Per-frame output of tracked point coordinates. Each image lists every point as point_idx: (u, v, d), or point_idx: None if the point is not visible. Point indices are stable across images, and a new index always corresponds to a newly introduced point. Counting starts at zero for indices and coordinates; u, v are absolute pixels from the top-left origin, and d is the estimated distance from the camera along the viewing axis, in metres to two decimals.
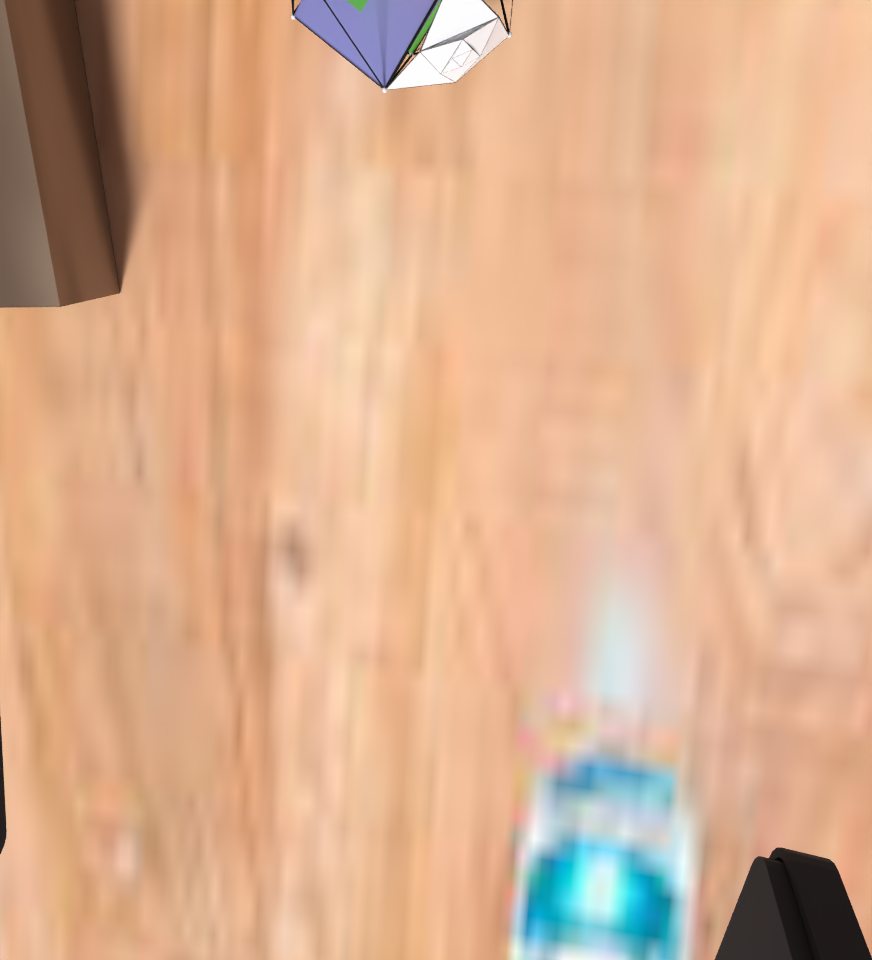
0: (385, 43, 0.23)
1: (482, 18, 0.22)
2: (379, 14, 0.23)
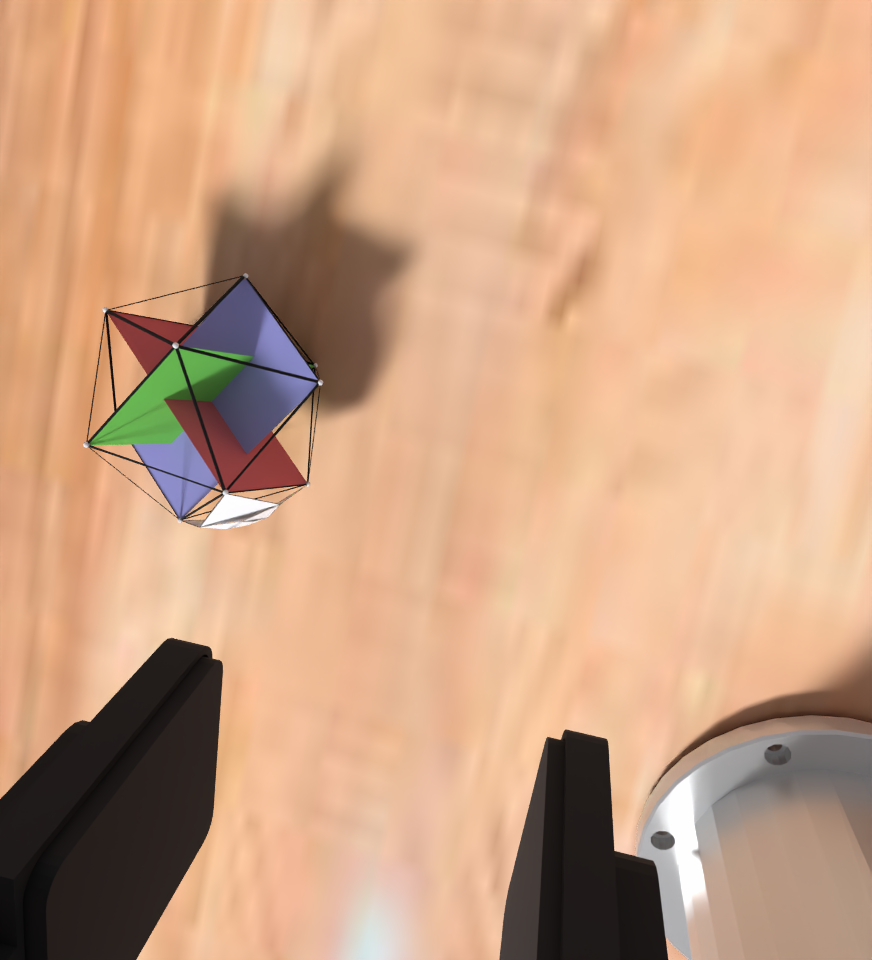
0: (187, 481, 0.25)
1: (262, 506, 0.24)
2: (185, 453, 0.25)
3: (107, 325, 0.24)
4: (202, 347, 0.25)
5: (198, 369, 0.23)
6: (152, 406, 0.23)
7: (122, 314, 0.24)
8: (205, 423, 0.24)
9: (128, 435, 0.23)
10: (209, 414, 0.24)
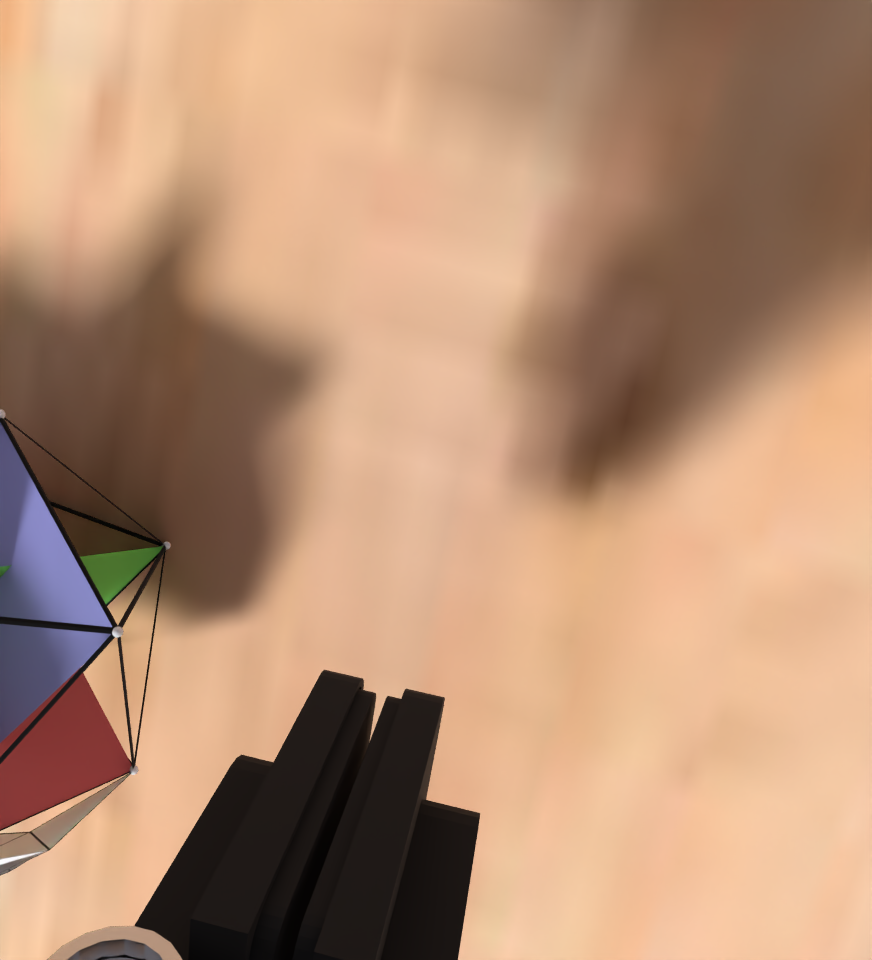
0: None
1: (11, 860, 0.12)
2: None
3: None
4: None
5: None
6: None
7: None
8: None
9: None
10: None
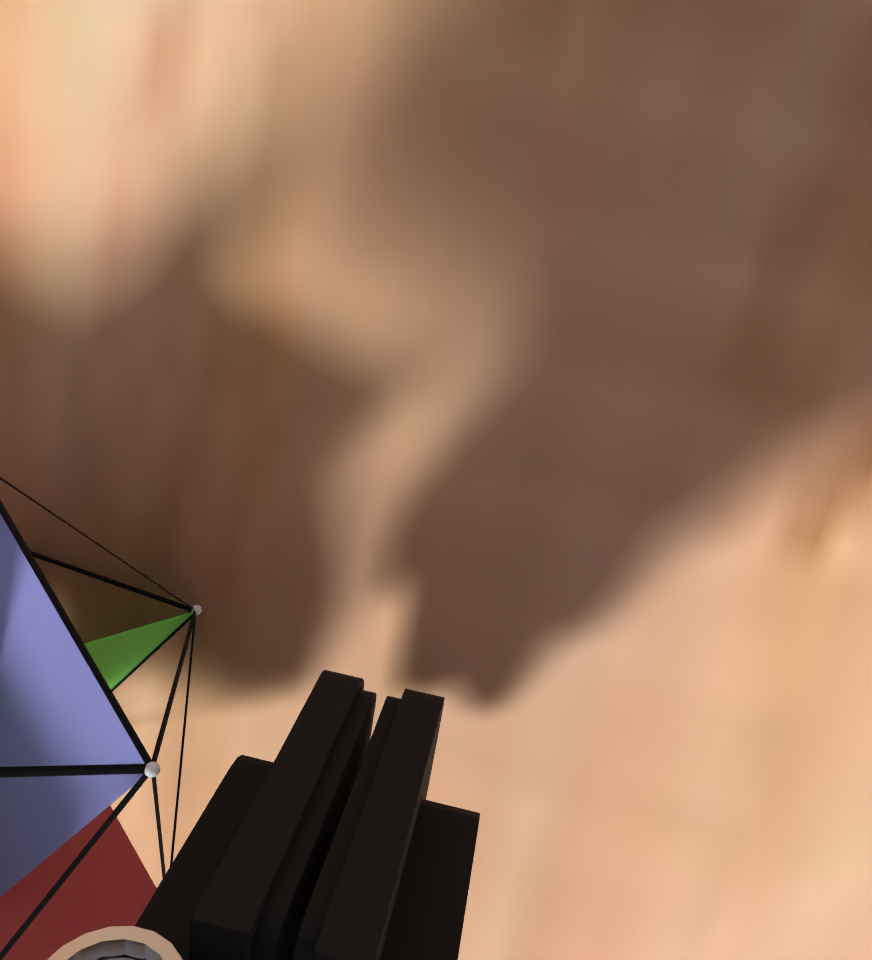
0: None
1: None
2: None
3: None
4: None
5: None
6: None
7: None
8: None
9: None
10: None
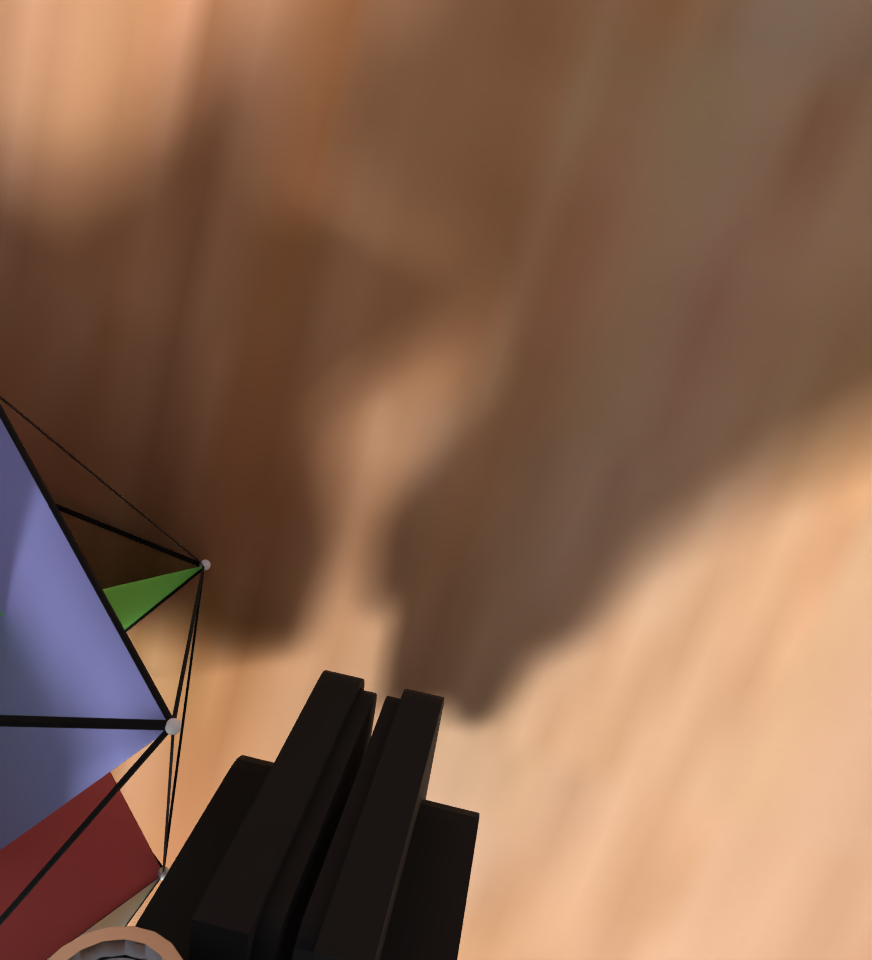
0: None
1: None
2: None
3: None
4: None
5: None
6: None
7: None
8: None
9: None
10: None
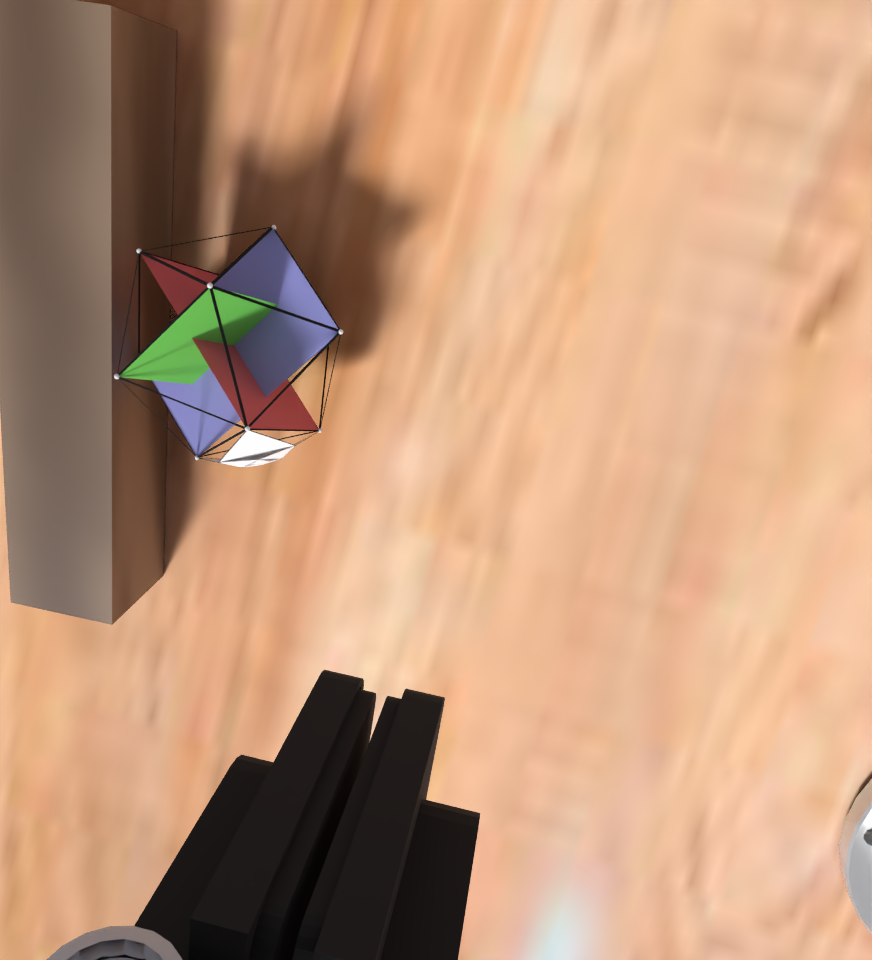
0: (206, 420, 0.26)
1: (278, 446, 0.25)
2: (206, 393, 0.26)
3: (139, 266, 0.25)
4: None
5: (226, 311, 0.24)
6: (181, 344, 0.24)
7: (153, 256, 0.25)
8: (228, 364, 0.25)
9: (154, 371, 0.24)
10: (232, 357, 0.25)
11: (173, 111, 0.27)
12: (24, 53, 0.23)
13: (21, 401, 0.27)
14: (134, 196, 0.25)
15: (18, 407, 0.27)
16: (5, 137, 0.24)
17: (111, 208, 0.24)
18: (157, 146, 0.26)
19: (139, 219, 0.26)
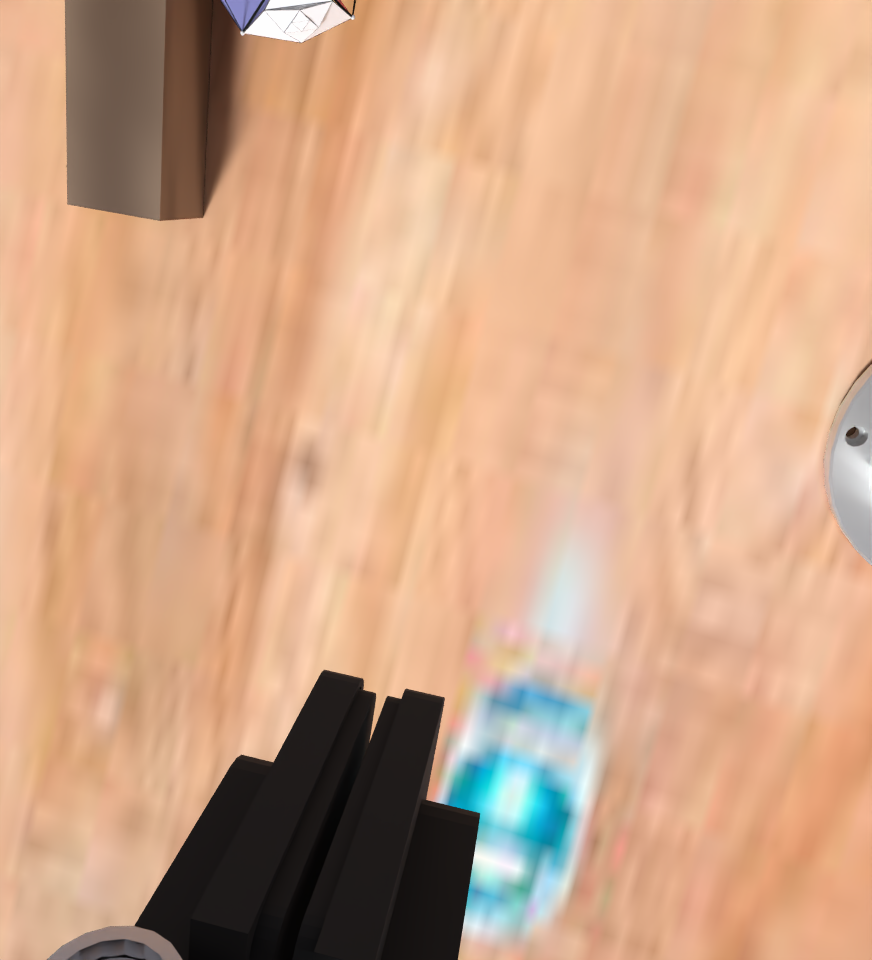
0: None
1: None
2: None
3: None
4: None
5: None
6: None
7: None
8: None
9: None
10: None
11: None
12: None
13: None
14: None
15: None
16: None
17: None
18: None
19: None
